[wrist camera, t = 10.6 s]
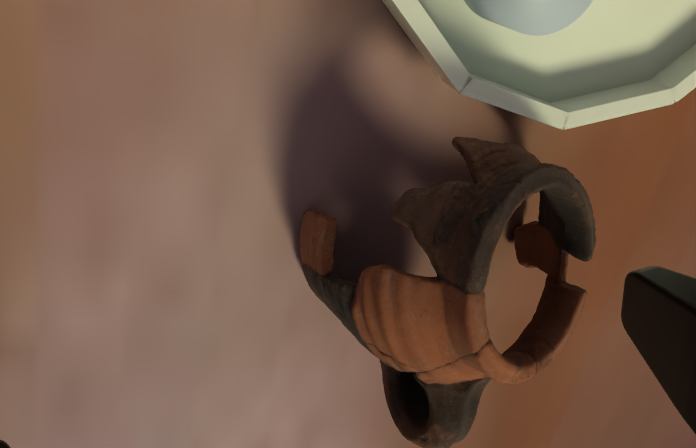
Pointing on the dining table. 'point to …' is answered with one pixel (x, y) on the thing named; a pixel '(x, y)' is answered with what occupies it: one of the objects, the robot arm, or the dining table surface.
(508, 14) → the blue-grey rounded piece
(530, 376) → the brown hollow cylinder
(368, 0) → the dining table surface
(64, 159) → the dining table surface
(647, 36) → the green tray
